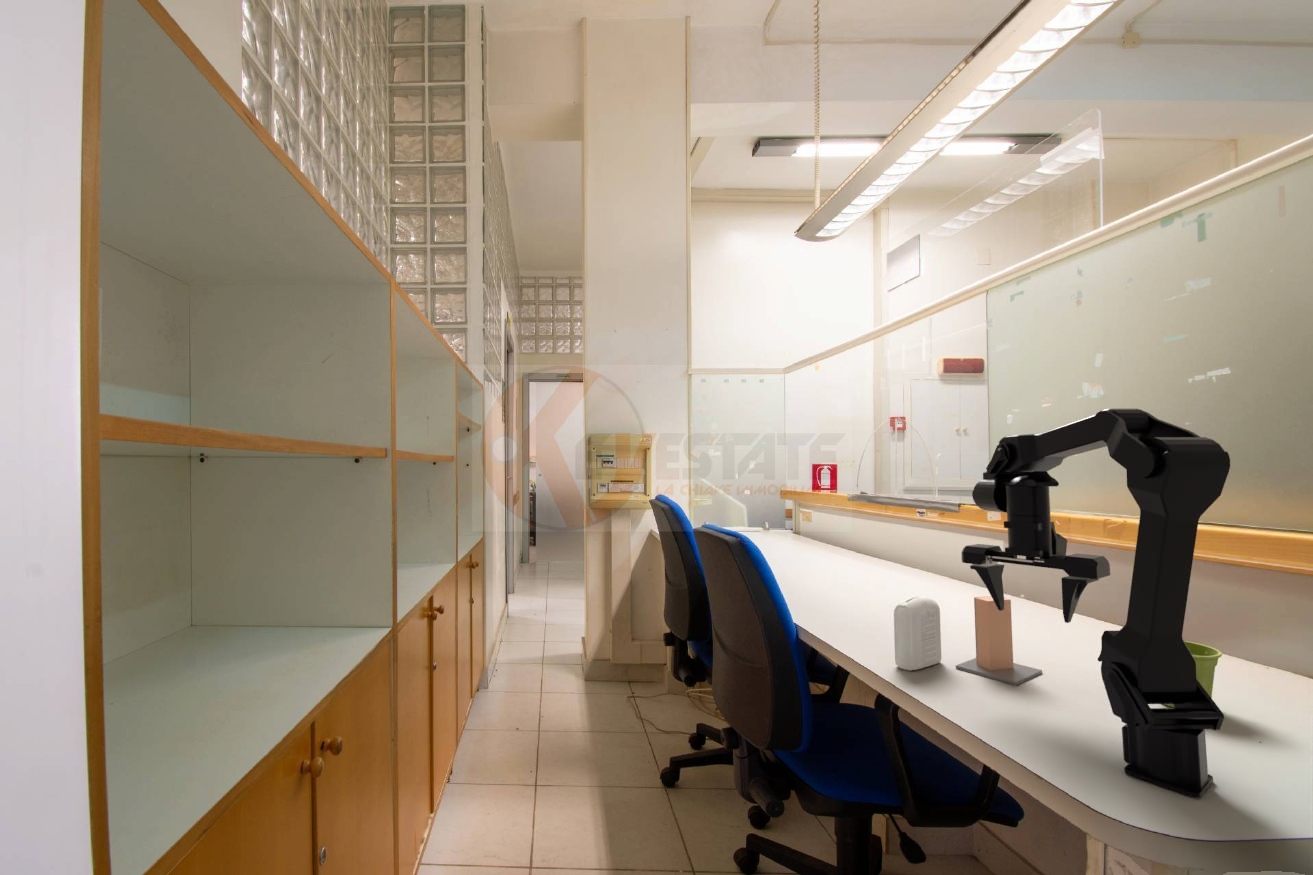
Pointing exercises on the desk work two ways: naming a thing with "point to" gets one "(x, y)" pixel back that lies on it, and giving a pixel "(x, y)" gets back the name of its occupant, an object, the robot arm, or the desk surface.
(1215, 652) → the plant pot
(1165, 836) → the desk surface
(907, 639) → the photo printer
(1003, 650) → the tan rectangular block
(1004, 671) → the pad
